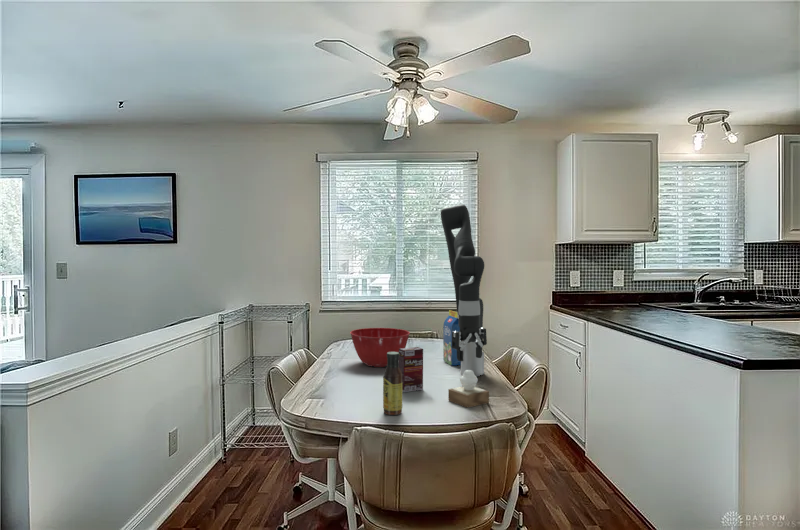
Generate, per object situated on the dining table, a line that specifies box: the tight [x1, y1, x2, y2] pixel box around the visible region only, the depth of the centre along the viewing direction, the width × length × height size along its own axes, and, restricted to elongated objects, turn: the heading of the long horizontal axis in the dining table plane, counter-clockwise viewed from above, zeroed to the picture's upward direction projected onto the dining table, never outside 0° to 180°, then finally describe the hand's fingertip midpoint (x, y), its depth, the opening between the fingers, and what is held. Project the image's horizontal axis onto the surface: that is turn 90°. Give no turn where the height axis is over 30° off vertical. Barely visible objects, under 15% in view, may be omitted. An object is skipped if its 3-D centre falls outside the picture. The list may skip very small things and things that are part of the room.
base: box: [448, 386, 490, 408], centre depth 174 cm, size 10×10×4 cm
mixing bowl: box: [349, 327, 411, 368], centre depth 235 cm, size 28×28×16 cm
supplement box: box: [399, 346, 424, 393], centre depth 189 cm, size 9×5×16 cm, turn 117°
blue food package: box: [442, 309, 461, 367], centre depth 237 cm, size 6×12×25 cm, turn 13°
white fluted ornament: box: [459, 370, 479, 390], centre depth 174 cm, size 6×6×7 cm
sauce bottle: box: [382, 352, 403, 416], centre depth 161 cm, size 7×6×20 cm
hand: (469, 359), depth 173 cm, fingers open, 8 cm apart
